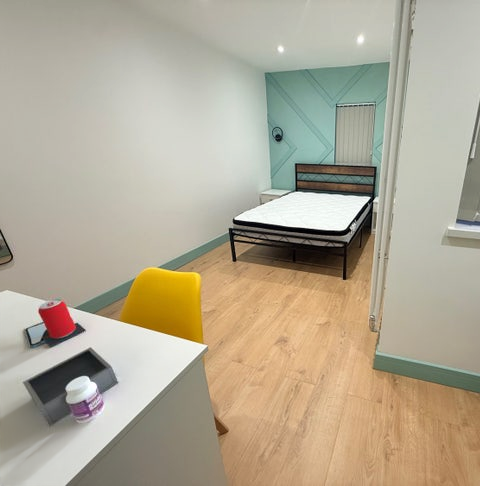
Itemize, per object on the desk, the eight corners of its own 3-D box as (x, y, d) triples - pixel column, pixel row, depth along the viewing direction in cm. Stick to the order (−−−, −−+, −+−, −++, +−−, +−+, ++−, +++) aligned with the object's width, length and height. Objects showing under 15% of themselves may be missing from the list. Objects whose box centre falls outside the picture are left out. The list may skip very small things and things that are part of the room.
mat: (50, 347, 82) (49, 345, 82) (43, 339, 86) (42, 337, 85) (85, 331, 89) (85, 329, 89) (78, 324, 93) (77, 322, 93)
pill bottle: (100, 419, 61) (86, 389, 57) (72, 427, 59) (55, 397, 56) (109, 399, 66) (96, 370, 62) (83, 406, 64) (68, 377, 60)
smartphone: (53, 318, 96) (61, 334, 87) (54, 320, 96) (62, 336, 87) (23, 328, 90) (29, 347, 82) (24, 331, 91) (30, 349, 82)
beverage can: (73, 324, 91) (60, 295, 87) (79, 331, 88) (65, 301, 84) (49, 335, 87) (34, 304, 82) (53, 342, 83) (38, 311, 79)
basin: (49, 426, 59) (39, 409, 57) (32, 398, 66) (22, 382, 64) (118, 382, 70) (111, 366, 68) (97, 361, 77) (90, 347, 75)
